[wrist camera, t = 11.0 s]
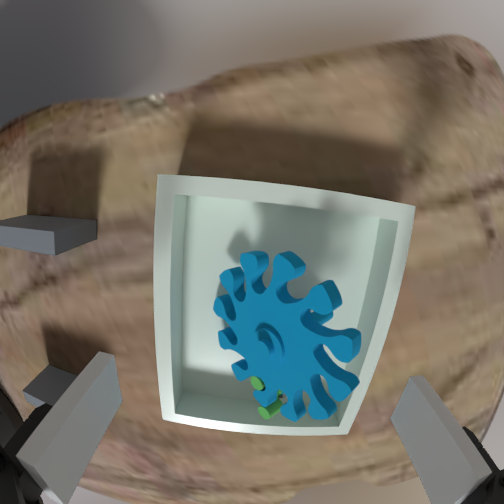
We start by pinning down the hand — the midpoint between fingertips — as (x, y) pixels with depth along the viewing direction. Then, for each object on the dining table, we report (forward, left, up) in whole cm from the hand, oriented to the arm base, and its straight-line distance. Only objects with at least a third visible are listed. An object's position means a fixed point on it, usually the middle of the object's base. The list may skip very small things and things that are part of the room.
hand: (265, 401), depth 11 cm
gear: (+1, 0, -8) cm, 8 cm away
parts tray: (0, 0, -9) cm, 9 cm away
